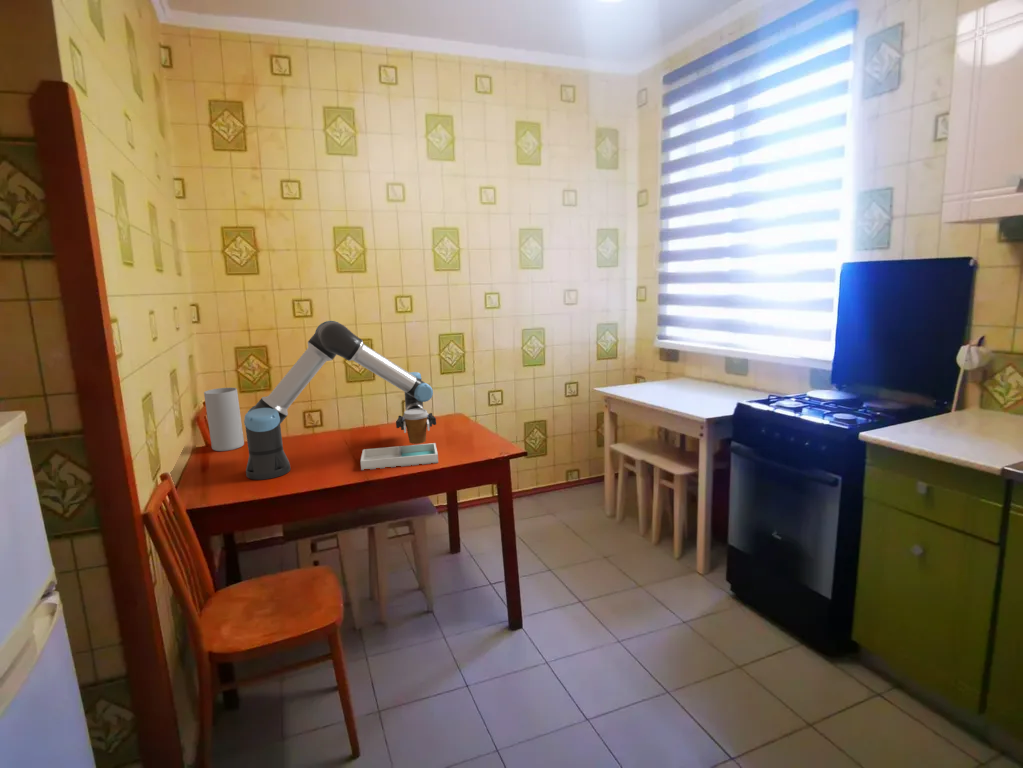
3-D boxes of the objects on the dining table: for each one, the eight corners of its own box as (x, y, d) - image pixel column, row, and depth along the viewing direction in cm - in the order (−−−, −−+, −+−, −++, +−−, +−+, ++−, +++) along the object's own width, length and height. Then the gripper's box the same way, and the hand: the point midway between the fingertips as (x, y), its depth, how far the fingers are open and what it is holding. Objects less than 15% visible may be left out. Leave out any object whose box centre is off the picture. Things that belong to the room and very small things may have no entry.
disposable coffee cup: (425, 445, 211) (422, 414, 208) (401, 444, 213) (398, 414, 210) (433, 438, 220) (431, 408, 217) (410, 437, 222) (408, 408, 219)
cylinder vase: (235, 451, 235) (227, 393, 230) (206, 452, 235) (197, 394, 231) (249, 442, 247) (242, 387, 242) (222, 443, 248) (214, 388, 243)
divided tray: (361, 470, 207) (360, 461, 206) (363, 457, 221) (362, 449, 220) (438, 462, 212) (437, 454, 211) (435, 451, 226) (435, 443, 225)
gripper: (440, 420, 235) (445, 435, 213) (390, 424, 231) (389, 440, 209) (439, 403, 233) (444, 416, 211) (388, 407, 230) (387, 421, 208)
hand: (416, 428), depth 210 cm, fingers closed on disposable coffee cup, 8 cm apart
